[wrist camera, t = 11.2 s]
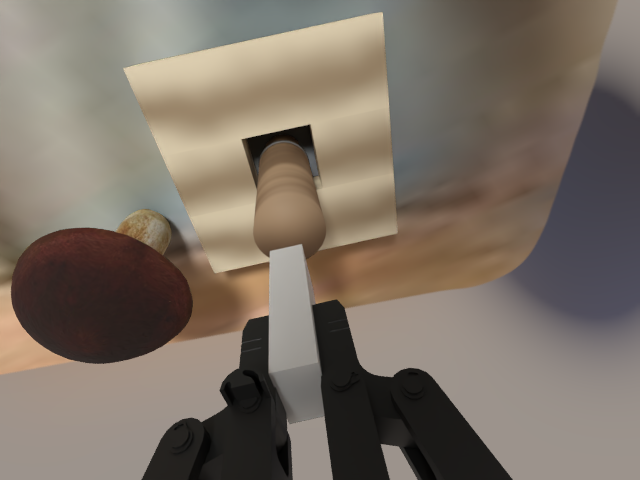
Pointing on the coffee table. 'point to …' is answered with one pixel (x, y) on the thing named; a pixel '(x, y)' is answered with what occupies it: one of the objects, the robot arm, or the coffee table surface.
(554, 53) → the coffee table surface
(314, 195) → the peg
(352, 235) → the board
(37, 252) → the decorative mushroom
